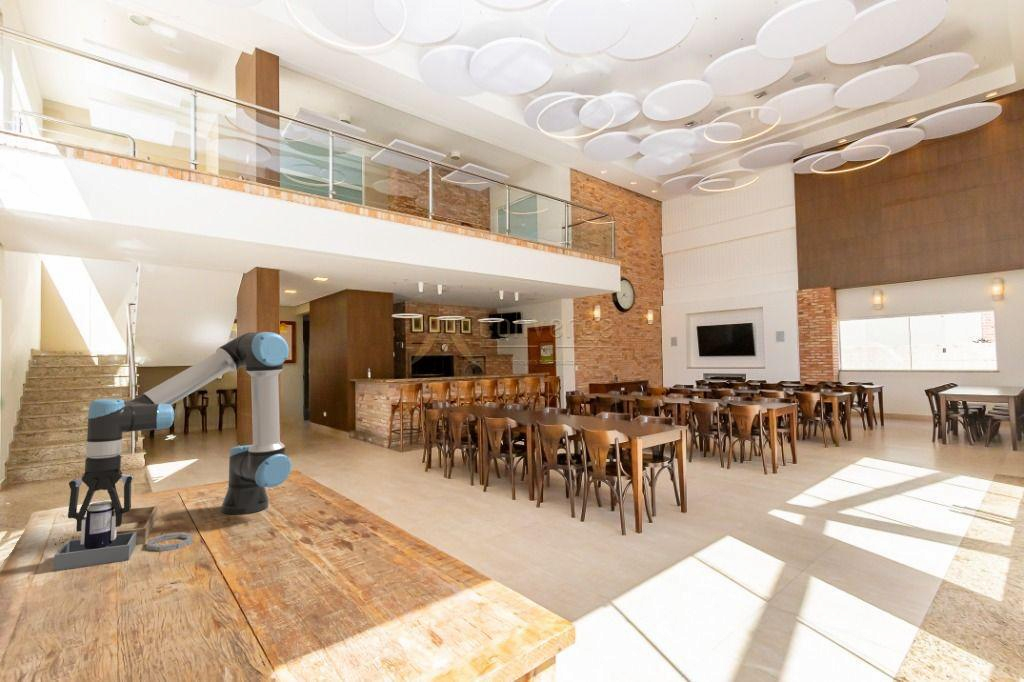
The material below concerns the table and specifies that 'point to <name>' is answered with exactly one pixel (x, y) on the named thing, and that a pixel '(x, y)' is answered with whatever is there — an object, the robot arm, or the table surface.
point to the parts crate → (139, 516)
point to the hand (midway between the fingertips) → (98, 540)
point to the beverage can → (99, 525)
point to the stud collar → (155, 547)
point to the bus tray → (94, 552)
